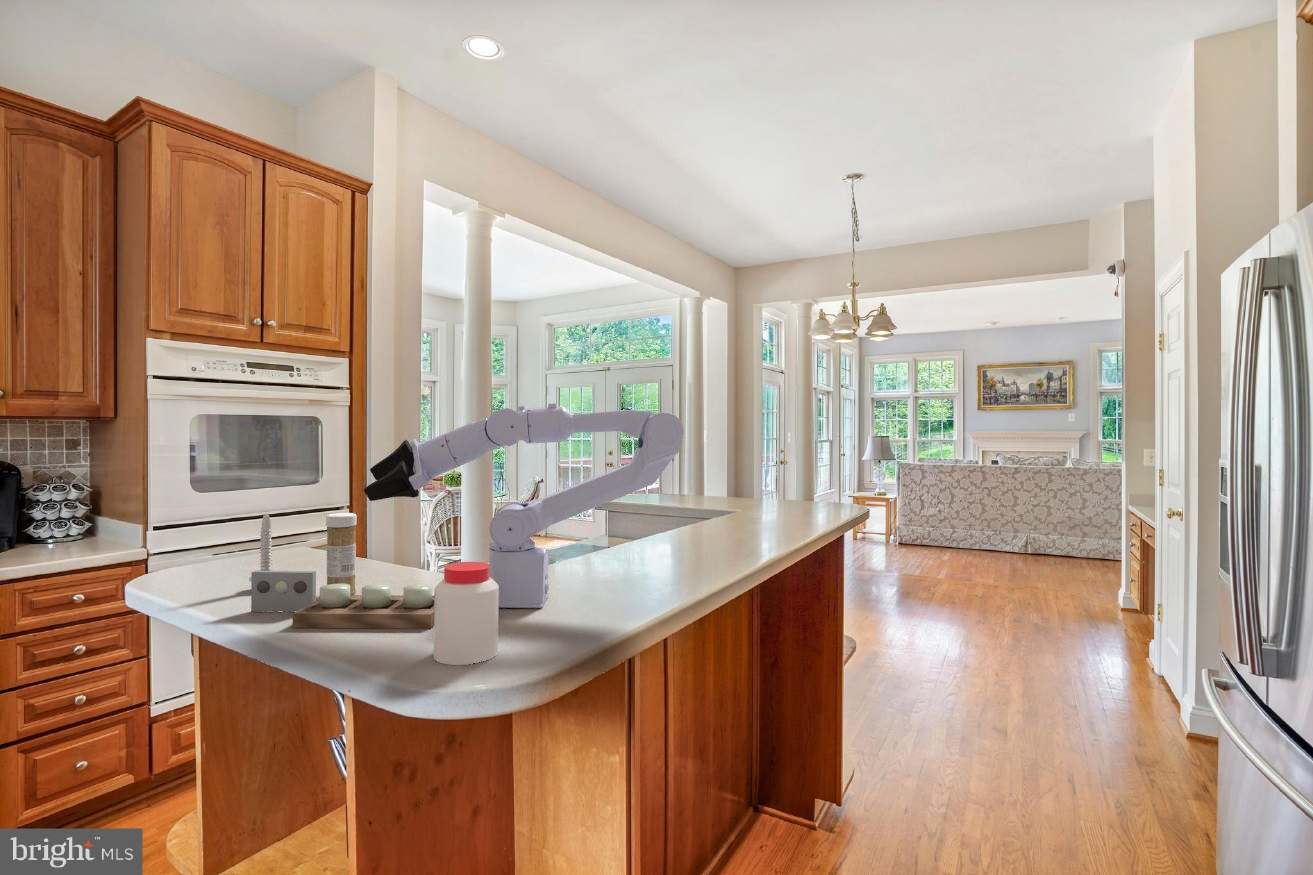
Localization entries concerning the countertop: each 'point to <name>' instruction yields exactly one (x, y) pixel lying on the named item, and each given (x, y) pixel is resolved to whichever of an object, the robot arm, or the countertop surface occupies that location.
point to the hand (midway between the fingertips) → (370, 484)
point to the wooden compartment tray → (364, 615)
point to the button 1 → (334, 595)
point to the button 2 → (417, 596)
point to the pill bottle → (466, 614)
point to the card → (282, 590)
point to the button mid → (376, 595)
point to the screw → (265, 545)
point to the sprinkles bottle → (341, 549)
